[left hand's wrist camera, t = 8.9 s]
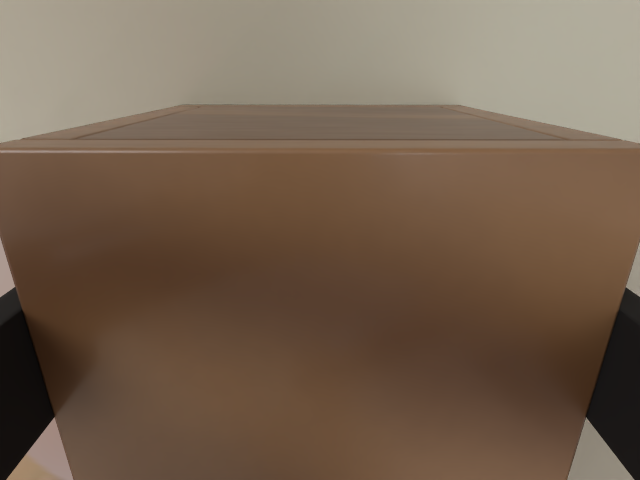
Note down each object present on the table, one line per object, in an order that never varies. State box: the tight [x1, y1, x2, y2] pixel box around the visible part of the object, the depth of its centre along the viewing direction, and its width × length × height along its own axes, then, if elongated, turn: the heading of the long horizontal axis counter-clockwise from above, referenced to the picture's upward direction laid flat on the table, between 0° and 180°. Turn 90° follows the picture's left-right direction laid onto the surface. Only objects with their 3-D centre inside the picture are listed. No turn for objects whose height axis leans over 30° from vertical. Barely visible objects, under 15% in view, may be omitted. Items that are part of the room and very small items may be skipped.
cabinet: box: [0, 105, 640, 480], centre depth 16 cm, size 22×12×11 cm, turn 0°
